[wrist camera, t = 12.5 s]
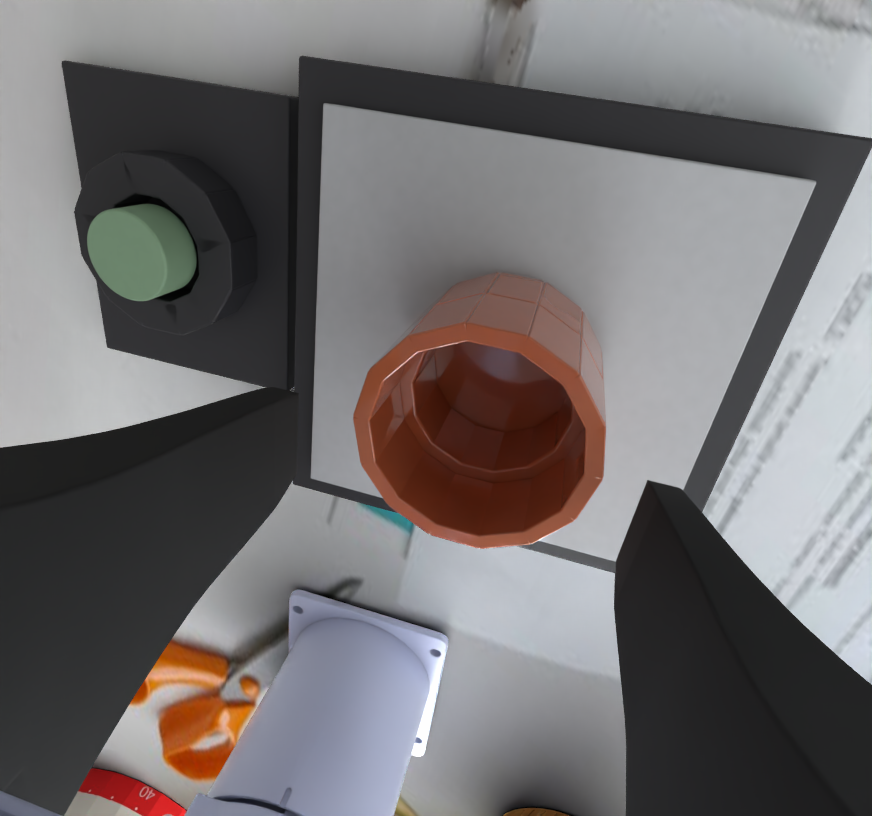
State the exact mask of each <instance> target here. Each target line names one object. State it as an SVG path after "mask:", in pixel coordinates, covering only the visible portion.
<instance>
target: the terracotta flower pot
mask: <svg viewBox="0 0 872 816" xmlns="http://www.w3.org/2000/svg"><path fill="white" fill-rule="evenodd" d="M353 421H354V428H355V434H356V440H357V446H358V452H359V458H360V463H361V466H362V467H363V469H364V470H365V472H366V473H367V475H368V476H369V478H370V479H371V481H372V482H373V484H374V485H375V487H376V488H377V490H378V491H379V493H380V494H381V496H382V497H383V499H384V500H385V502H386V503H387V504H388V505H389V506H390V507H391V508H392V509H394V510H395V511H397V512H398V513H399V514H401V515H402V516H404V517H405V518H406V519H408V520H409V521H411V522H412V523H414V524H415V525H416V526H418V527H419V528H421V529H422V530H423V531H425V532H426V533H428V534H430V535H432V536H435V537H439V538H442V539H446V540H450V541H453V542H457V543H460V544H464V545H467V546H471V547H475V548H481V549H484V548H496V547H508V546H520V545H529V544H530V543H531V544H533V543H535V542H537V541H538V540H540V539H542V538H544V537H546V536H548V535H550V534H551V533H553V532H555V531H557V530H559V529H561V528H563V527H565V526H566V525H568V524H570V523H572V522H574V520H576V519H577V517H578V516H579V514H580V513H581V512H582V510H583V509H584V507H585V506H586V504H587V503H588V501H589V500H590V498H591V497H592V495H593V494H594V492H595V491H596V489H597V488H598V486H599V485H600V483H601V482H602V480H603V477H604V463H605V446H606V409H605V390H604V373H603V353H602V351H601V346H600V344H599V342H598V340H597V338H596V335H595V333H594V331H593V329H592V327H591V325H590V323H589V321H588V319H587V317H586V315H585V313H584V312H583V311H582V309H581V308H580V307H579V306H578V305H576V304H575V303H574V302H573V301H571V300H570V299H569V298H567V297H566V296H565V295H563V294H562V293H561V292H559V291H558V290H557V289H555V288H554V287H553V286H551V285H550V284H549V283H547V282H545V283H544V281H542V280H537V279H532V278H527V277H522V276H517V275H512V274H507V273H497V272H496V273H492V274H488V275H485V276H481V277H477V278H473V279H469V280H466V281H462V282H458V283H456V284H455V285H453V286H451V287H450V288H449V289H448V290H447V291H446V292H445V293H444V294H442V295H441V296H440V297H439V298H438V299H437V300H436V301H435V302H433V303H432V304H431V305H430V306H429V307H428V308H427V309H426V310H425V311H424V312H423V313H422V314H421V315H420V316H419V317H418V318H417V319H416V320H415V321H414V322H413V323H412V325H411V326H410V327H409V328H408V329H407V330H406V331H405V332H404V333H403V334H402V335H401V336H400V337H399V338H398V339H397V340H396V341H395V342H394V343H393V344H392V346H391V347H390V348H389V349H388V350H387V351H386V352H385V353H384V354H383V355H382V356H381V357H380V358H379V359H378V360H377V361H376V363H375V364H374V365H373V366H372V367H371V368H370V369H369V371H368V373H367V375H366V378H365V381H364V384H363V387H362V390H361V393H360V396H359V399H358V402H357V405H356V408H355V411H354V414H353Z"/></svg>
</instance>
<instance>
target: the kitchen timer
mask: <svg viewBox="0 0 872 816" xmlns="http://www.w3.org/2000/svg"><path fill="white" fill-rule="evenodd" d="M186 812H187V811H186V810H185V809H183V808H182V807H181V806H179V805H178V804H176V803H175V802H174V801H172V800H171V799H169V798H168V797H167V796H165V795H164V794H162V793H161V792H159V791H157V790H155V789H153V788H151V787H149V786H147V785H146V784H144V783H142V782H140V781H138V780H135V779H132V778H130V777H127V776H124V775H122V774H119V773H116V772H112V771H106V770H101V769H96V768H93V769H90V771H89V773H88V774H87V776H86V778H85V780H84V782H83V783H82V785H81V787H80V789H79V790H78V792H77V794H76V796H75V797H74V799H73V801H72V803H71V804H70V806H69V808H68V810H67V812H66V813H65V815H64V816H163V815H165V814H171V815H173V816H184V815H185V813H186Z"/></svg>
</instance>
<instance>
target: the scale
mask: <svg viewBox="0 0 872 816" xmlns="http://www.w3.org/2000/svg"><path fill="white" fill-rule="evenodd" d="M871 148H872V138H866V137H859V136H852V135H845V134H838V133H832V132H825V131H818V130H811V129H804V128H797V127H790V126H783V125H776V124H770V123H763V122H756V121H749V120H742V119H735V118H728V117H721V116H714V115H707V114H701V113H694V112H687V111H680V110H673V109H666V108H659V107H652V106H645V105H639V104H632V103H625V102H618V101H611V100H604V99H597V98H590V97H583V96H576V95H570V94H563V93H556V92H549V91H542V90H535V89H528V88H521V87H514V86H508V85H501V84H494V83H487V82H480V81H473V80H466V79H459V78H452V77H445V76H439V75H432V74H425V73H418V72H411V71H404V70H397V69H390V68H383V67H377V66H370V65H363V64H356V63H349V62H342V61H335V60H328V59H321V58H314V57H308V56H300V58H299V112H298V179H297V246H296V313H295V380H294V392H296V393H299V407H298V450H297V474H296V475H295V477H294V479H293V484H294V485H298V486H301V487H305V488H309V489H312V490H316V491H320V492H323V493H327V494H330V495H334V496H338V497H341V498H345V499H348V500H352V501H356V502H359V503H363V504H367V505H370V506H374V507H377V508H381V509H385V510H388V511H392V512H396V513H398V512H397V511H395V510H394V509H392V508H391V507H390V506H389V505H388V504H387V503H386V502H385V500H384V499H383V497H382V496H381V494H380V493H379V491H378V490H377V488H376V487H375V485H374V484H373V482H372V481H371V479H370V478H369V476H368V475H367V473H366V472H365V470H364V469H363V467H362V466H361V463H360V458H359V452H358V446H357V440H356V434H355V428H354V421H353V414H354V411H355V408H356V405H357V402H358V399H359V396H360V393H361V390H362V387H363V384H364V381H365V378H366V375H367V373H368V371H369V369H370V368H371V367H372V366H373V365H374V364H375V363H376V361H377V360H378V359H379V358H380V357H381V356H382V355H383V354H384V353H385V352H386V351H387V350H388V349H389V348H390V347H391V346H392V344H393V343H394V342H395V341H396V340H397V339H398V338H399V337H400V336H401V335H402V334H403V333H404V332H405V331H406V330H407V329H408V328H409V327H410V326H411V325H412V323H413V322H414V321H415V320H416V319H417V318H418V317H419V316H420V315H421V314H422V313H423V312H424V311H425V310H426V309H427V308H428V307H429V306H430V305H431V304H432V303H433V302H435V301H436V300H437V299H438V298H439V297H440V296H441V295H442V294H444V293H445V292H446V291H447V290H448V289H449V288H450V287H451V286H453V285H455V284H456V283H458V282H462V281H466V280H469V279H473V278H477V277H481V276H485V275H488V274H492V273H496V272H497V273H507V274H512V275H517V276H522V277H527V278H532V279H537V280H542V281H544V283H545V282H547V283H549V284H550V285H551V286H553V287H554V288H555V289H557V290H558V291H559V292H561V293H562V294H563V295H565V296H566V297H567V298H569V299H570V300H571V301H573V302H574V303H575V304H576V305H578V306H579V307H580V308H581V309H582V311H583V312H584V313H585V315H586V317H587V319H588V321H589V323H590V325H591V327H592V329H593V331H594V333H595V335H596V338H597V340H598V342H599V344H600V346H601V351H602V353H603V373H604V390H605V409H606V446H605V463H604V477H603V480H602V482H601V483H600V485H599V486H598V488H597V489H596V491H595V492H594V494H593V495H592V497H591V498H590V500H589V501H588V503H587V504H586V506H585V507H584V509H583V510H582V512H581V513H580V514H579V516H578V517H577V519H576V520H574V522H572V523H570V524H568V525H566V526H565V527H563V528H561V529H559V530H557V531H555V532H553V533H551V534H550V535H548V536H546V537H544V538H542V539H540V540H538V541H537V542H535V543H533V544H531V543H530V544H529V545H520V546H519V547H522V548H526V549H529V550H533V551H537V552H540V553H544V554H548V555H551V556H555V557H558V558H562V559H566V560H569V561H573V562H576V563H580V564H584V565H587V566H591V567H595V568H598V569H602V570H605V571H609V572H613V573H615V571H616V559H617V557H618V554H619V551H620V549H621V546H622V544H623V541H624V539H625V536H626V534H627V531H628V528H629V526H630V523H631V521H632V518H633V516H634V513H635V511H636V508H637V505H638V503H639V500H640V498H641V495H642V493H643V490H644V488H645V485H646V482H647V480H650V481H654V482H658V483H662V484H666V485H670V486H674V487H678V488H681V489H682V490H683V491H684V492H685V493H686V494H687V496H688V497H689V498H690V499H691V500H692V501H693V502H694V504H695V505H696V506H697V507H698V508H699V510H700V511H701V512H702V511H703V509H704V507H705V505H706V502H707V500H708V498H709V496H710V494H711V492H712V490H713V487H714V485H715V483H716V481H717V479H718V477H719V474H720V472H721V470H722V468H723V466H724V464H725V462H726V459H727V457H728V455H729V453H730V451H731V449H732V447H733V444H734V442H735V440H736V438H737V436H738V434H739V432H740V429H741V427H742V425H743V423H744V421H745V419H746V416H747V414H748V412H749V410H750V408H751V406H752V404H753V401H754V399H755V397H756V395H757V393H758V391H759V389H760V386H761V384H762V382H763V380H764V378H765V376H766V373H767V371H768V369H769V367H770V365H771V363H772V361H773V358H774V356H775V354H776V352H777V350H778V348H779V346H780V343H781V341H782V339H783V337H784V335H785V333H786V331H787V328H788V326H789V324H790V322H791V320H792V318H793V315H794V313H795V311H796V309H797V307H798V305H799V303H800V300H801V298H802V296H803V294H804V292H805V290H806V288H807V285H808V283H809V281H810V279H811V277H812V275H813V272H814V270H815V268H816V266H817V264H818V262H819V260H820V257H821V255H822V253H823V251H824V249H825V247H826V245H827V242H828V240H829V238H830V236H831V234H832V232H833V230H834V227H835V225H836V223H837V221H838V219H839V217H840V214H841V212H842V210H843V208H844V206H845V204H846V202H847V199H848V197H849V195H850V193H851V191H852V189H853V187H854V184H855V182H856V180H857V178H858V176H859V174H860V171H861V169H862V167H863V165H864V163H865V161H866V159H867V156H868V154H869V152H870V150H871Z"/></svg>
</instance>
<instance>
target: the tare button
mask: <svg viewBox="0 0 872 816" xmlns="http://www.w3.org/2000/svg"><path fill="white" fill-rule="evenodd" d="M87 246H88V252H89V256H90V259H91V262H92V264H93V266H94V268H95V270H96V272H97V273H98V275H99V276H100V278H101V279H102V280H103V282H104V283H105V284H106V285H107V286H108V287H109V288H110V289H112V290H113V291H114V292H116V293H117V294H119V295H120V296H122V297H124V298H127V299H130V300H134V301H148V300H151V299H154V298H156V297H159V296H162V295H164V294H167V293H170V292H172V291H175V290H177V289H180V288H182V287H184V286H185V285H186V284H188V282H189V281H190V280H191V278H192V277H193V275H194V272H195V269H196V263H197V255H196V249H195V245H194V242H193V239H192V237H191V235H190V233H189V231H188V229H187V228H186V226H185V225H184V224H183V222H182V221H181V220H180V219H179V218H178V217H177V216H176V215H175V214H173V213H172V212H171V211H169V210H167V209H165V208H163V207H161V206H158V205H155V204H140V205H133V206H127V207H121V208H114V209H109V210H105V211H103V212H101V213H100V214H98V215H97V216H96V217H95V218H94V219H93V221H92V222H91V224H90V227H89V230H88V235H87Z"/></svg>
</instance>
